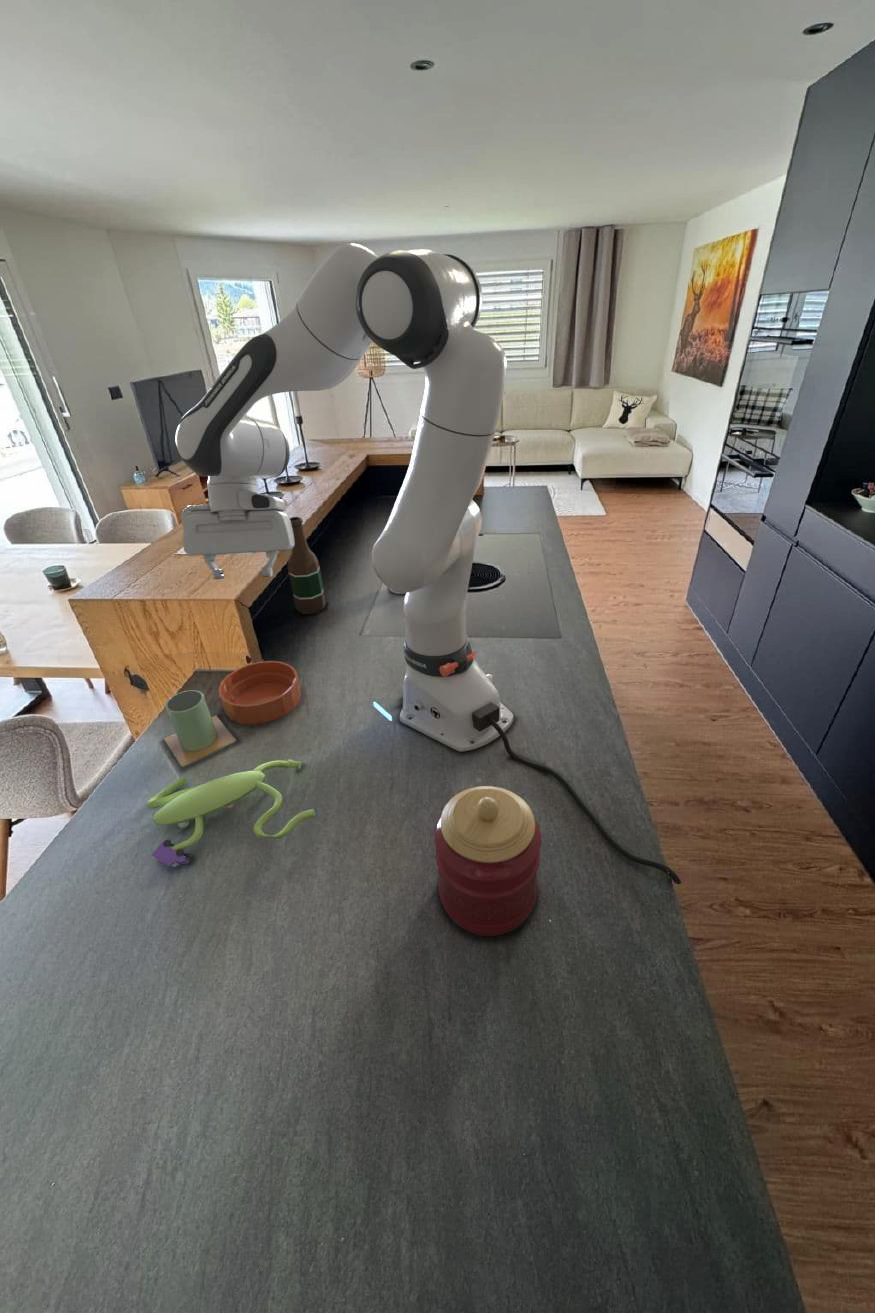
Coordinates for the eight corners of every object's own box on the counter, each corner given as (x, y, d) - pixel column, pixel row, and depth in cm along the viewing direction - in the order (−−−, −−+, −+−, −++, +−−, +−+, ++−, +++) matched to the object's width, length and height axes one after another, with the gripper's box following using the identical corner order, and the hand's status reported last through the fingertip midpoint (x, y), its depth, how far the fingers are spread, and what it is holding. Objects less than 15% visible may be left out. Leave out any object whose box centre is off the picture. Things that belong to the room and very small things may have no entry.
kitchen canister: (476, 836, 82) (475, 747, 72) (554, 884, 75) (564, 792, 65) (418, 900, 74) (408, 809, 64) (500, 960, 67) (503, 869, 57)
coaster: (237, 743, 102) (236, 740, 101) (182, 769, 96) (181, 767, 96) (216, 717, 108) (215, 715, 108) (164, 741, 103) (163, 738, 103)
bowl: (315, 703, 110) (311, 683, 108) (244, 737, 103) (237, 717, 100) (281, 672, 120) (276, 652, 118) (213, 701, 113) (206, 681, 110)
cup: (222, 740, 102) (209, 701, 97) (187, 756, 98) (172, 717, 93) (209, 723, 106) (196, 685, 101) (175, 738, 102) (160, 700, 97)
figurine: (318, 852, 81) (311, 826, 78) (126, 884, 78) (111, 858, 75) (319, 763, 96) (314, 739, 93) (159, 787, 93) (148, 763, 90)
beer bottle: (290, 612, 143) (270, 522, 130) (307, 599, 149) (289, 511, 136) (316, 617, 140) (298, 525, 127) (332, 603, 146) (317, 514, 133)
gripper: (171, 504, 100) (181, 581, 103) (283, 497, 100) (290, 575, 102) (187, 507, 106) (196, 580, 109) (293, 501, 106) (300, 574, 108)
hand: (243, 577), depth 105 cm, fingers open, 8 cm apart
